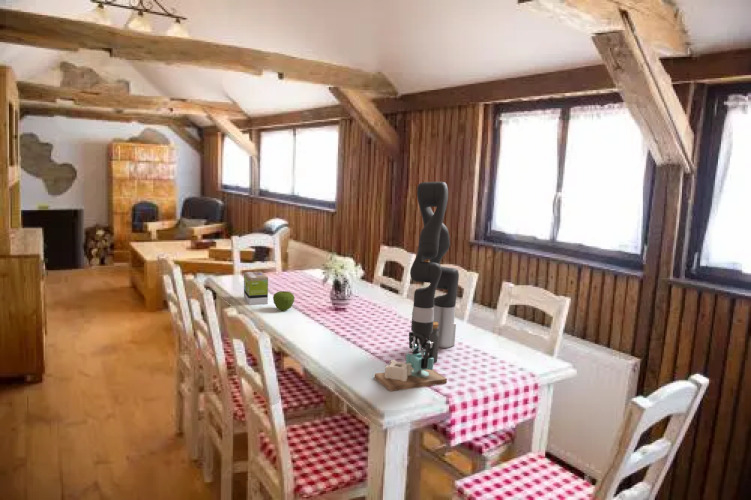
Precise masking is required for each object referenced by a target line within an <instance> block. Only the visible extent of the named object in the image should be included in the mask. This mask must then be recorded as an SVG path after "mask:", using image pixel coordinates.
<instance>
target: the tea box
mask: <svg viewBox="0 0 751 500" xmlns="http://www.w3.org/2000/svg"><path fill="white" fill-rule="evenodd" d="M243 299H244V300H245V301H246V302H247V304H248V306H257V305H260V306H261V305H268V303H269V277H268V276H267V275H266V274H265V273H264V272H263V271H244V272H243Z"/></svg>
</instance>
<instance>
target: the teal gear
mask: <svg viewBox="0 0 751 500" xmlns="http://www.w3.org/2000/svg"><path fill="white" fill-rule="evenodd" d="M424 355H425V352H424ZM421 358H422V356H421V352H419V353H418V354H413V353H406V354H405V363H411V364H412V369H414V371H415V372H418V371H419V370H427V369H428V370H434V363H433V362H434V358H428V364H427V365H428V366H427V368H426V369H422V368H421Z"/></svg>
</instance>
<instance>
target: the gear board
mask: <svg viewBox="0 0 751 500" xmlns="http://www.w3.org/2000/svg"><path fill="white" fill-rule="evenodd" d="M397 366H398V367H401V366H400V365H397ZM374 379H375V380H376V381H378V382H379V383H380V384H381V385H382V386H384V388H386V389H387V390H388V391H389V392H394V391H401V390H407V389H415V388H422V387H428V386H433V385H434V386H435V384H436V385H440V384H441V385H442V383H443V384H446V383H448V382H447V380H448V379H447V378H446V377H445V376H444V375H442V374H441V373H439V372H437V371H436V370H435V369H433V370H428V369H427V370H419V371H418V372H415V371H414V369H413V368H412V369H411V375H409V376H407V380H406V381H404V382H403V381H401V380H398V379H393V378H388V379H386V378H385V371H384V372H379V373H374Z"/></svg>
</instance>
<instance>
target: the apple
mask: <svg viewBox="0 0 751 500" xmlns="http://www.w3.org/2000/svg"><path fill="white" fill-rule="evenodd" d="M272 298H273V303H274V305H275V307H276V309H277V310H278V311H280V312H284V311H285V312H286V311H287V310H289V309H291V308H292V306H293V305H294V303H295V295H294V294H293V293H292V292H290V291H288V290H286V291H285V290H283V291H282V290H281V291H277V292H275V293H274V294H273V296H272Z"/></svg>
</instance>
